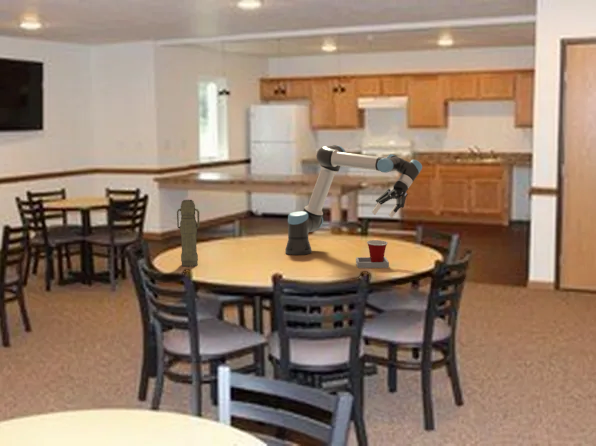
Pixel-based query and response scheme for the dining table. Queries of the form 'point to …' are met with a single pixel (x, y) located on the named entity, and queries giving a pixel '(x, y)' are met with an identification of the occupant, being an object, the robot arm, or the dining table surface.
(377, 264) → the tray
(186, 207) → the thermos
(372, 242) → the plastic cup
